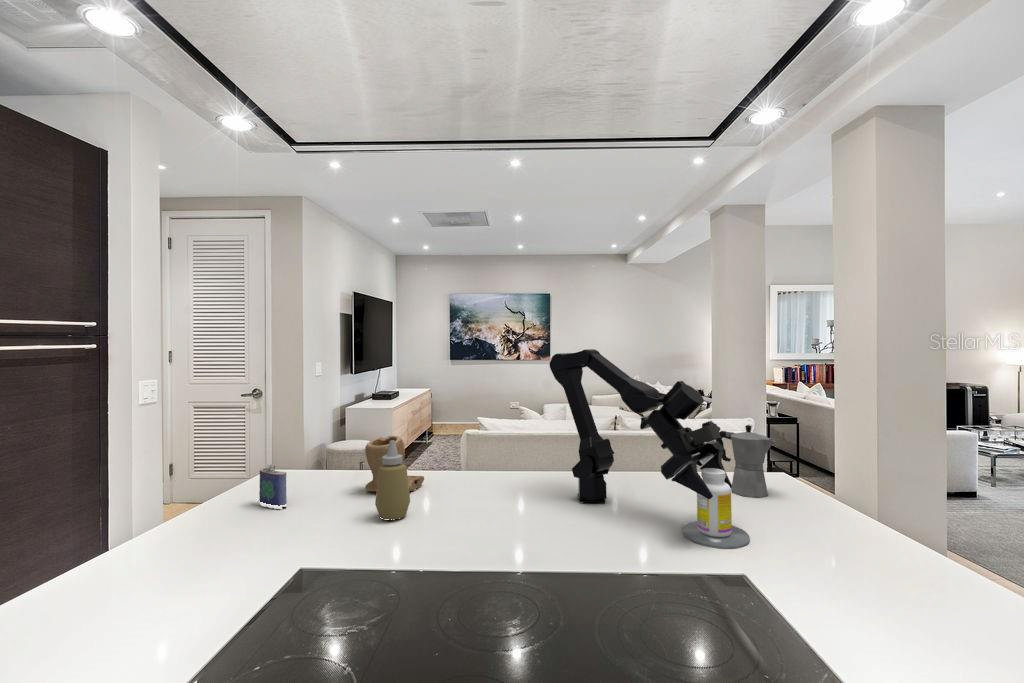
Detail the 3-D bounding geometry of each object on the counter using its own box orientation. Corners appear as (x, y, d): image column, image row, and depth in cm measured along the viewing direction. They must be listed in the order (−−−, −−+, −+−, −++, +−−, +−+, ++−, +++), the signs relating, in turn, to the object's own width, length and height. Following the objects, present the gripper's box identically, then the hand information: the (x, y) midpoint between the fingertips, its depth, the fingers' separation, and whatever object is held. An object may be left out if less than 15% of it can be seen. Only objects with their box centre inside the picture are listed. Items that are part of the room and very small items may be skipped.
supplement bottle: (733, 529, 102) (732, 468, 102) (730, 540, 96) (729, 476, 96) (699, 523, 105) (698, 465, 105) (695, 534, 99) (694, 472, 99)
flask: (289, 507, 120) (288, 465, 120) (278, 511, 118) (277, 467, 118) (266, 502, 125) (265, 461, 125) (255, 505, 122) (254, 463, 122)
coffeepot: (782, 493, 127) (781, 425, 127) (770, 502, 120) (769, 430, 120) (723, 482, 138) (722, 419, 138) (709, 489, 131) (708, 423, 131)
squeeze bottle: (367, 520, 110) (367, 442, 111) (389, 509, 118) (388, 436, 118) (397, 525, 107) (396, 445, 107) (417, 513, 115) (416, 438, 115)
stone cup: (357, 497, 128) (356, 441, 128) (374, 484, 140) (373, 432, 140) (412, 498, 126) (412, 441, 126) (425, 484, 138) (424, 433, 138)
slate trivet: (693, 548, 94) (693, 545, 94) (674, 523, 107) (674, 520, 107) (761, 548, 93) (761, 545, 93) (733, 523, 106) (733, 520, 106)
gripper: (673, 414, 97) (729, 480, 89) (714, 405, 109) (766, 462, 101) (640, 447, 102) (689, 512, 94) (682, 435, 115) (729, 491, 107)
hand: (721, 492), depth 99 cm, fingers open, 9 cm apart
